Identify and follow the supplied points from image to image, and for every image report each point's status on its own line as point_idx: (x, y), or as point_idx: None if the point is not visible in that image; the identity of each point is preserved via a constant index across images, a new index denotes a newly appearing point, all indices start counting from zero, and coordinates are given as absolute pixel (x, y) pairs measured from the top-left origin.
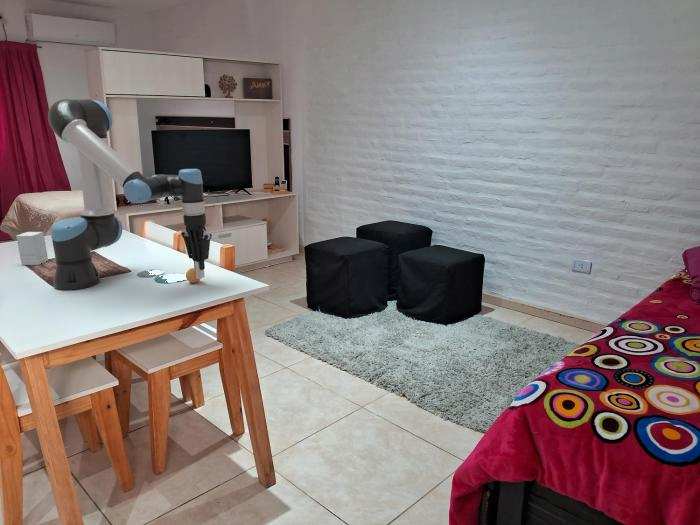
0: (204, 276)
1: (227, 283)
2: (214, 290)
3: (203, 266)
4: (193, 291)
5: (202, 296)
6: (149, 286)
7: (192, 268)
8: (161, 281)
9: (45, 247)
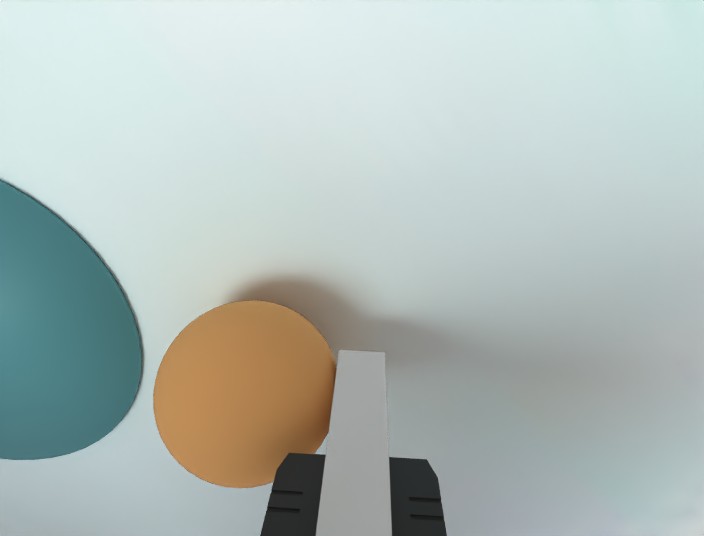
0: (384, 359)
1: (616, 212)
2: (596, 415)
3: (437, 519)
4: (441, 487)
5: (579, 528)
6: (57, 524)
7: (222, 468)
8: (11, 441)
9: None
